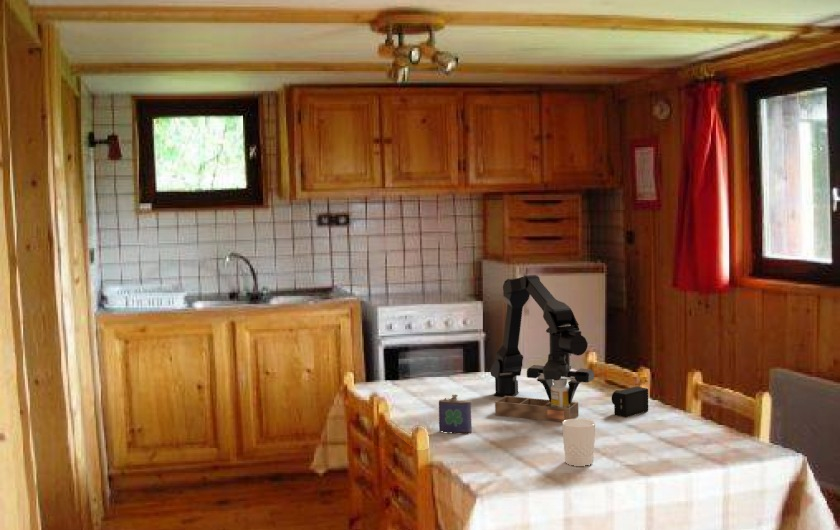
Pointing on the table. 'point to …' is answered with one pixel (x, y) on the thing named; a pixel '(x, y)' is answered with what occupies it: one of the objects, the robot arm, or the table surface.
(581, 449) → the white cup
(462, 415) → the flask
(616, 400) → the digital camera
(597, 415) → the table surface
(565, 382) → the supplement bottle
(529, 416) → the bottle rack
